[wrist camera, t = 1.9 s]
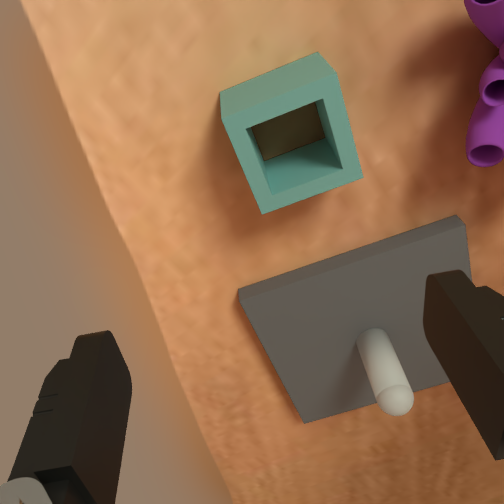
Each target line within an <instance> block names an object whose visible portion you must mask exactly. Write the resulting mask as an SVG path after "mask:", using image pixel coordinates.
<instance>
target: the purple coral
mask: <svg viewBox="0 0 504 504" xmlns="http://www.w3.org/2000/svg"><path fill="white" fill-rule="evenodd" d="M464 4H465V7H466V9H467V12H468V14H469V16H470V18H471V20H472V21H473V23H474V24H475V25H476V27H477V28H478V29H479V30H480V31H481V32H482V33H483V34H484V35H485V36H486V37H487V38H488V39H489V40H490V41H491V42H492V43H493V44H494V45H495V46H496V47H498V48H499V49H500V50H499V55H498V56H497V57H496V58H495V59H494V60H492V61H491V63H490V64H489V65H488V66H487V68H486V69H485V71H484V72H483V74H482V76H481V79H480V83H479V93H480V98H479V100H478V102H477V103H476V106H475V108H474V111H473V113H472V116H471V118H470V121H469V125H468V130H467V136H466V154H467V158H468V160H469V161H470V162H471V164H473V165H475V166H479V167H489V166H493V165H496V164H498V163H499V162H501V160H502V159H503V158H504V0H464Z"/></svg>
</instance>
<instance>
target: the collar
mask: <svg viewBox="0 0 504 504" xmlns="http://www.w3.org/2000/svg"><path fill="white" fill-rule="evenodd" d="M312 102H315V104H316V107H317V111H318V114H319V118H320V121H321V124H322V128H323V131H324V135H325V138H324V139H321V140H318V141H316V142H313V143H310V144H308V145H305V146H303V147H300V148H297V149H295V150H292V151H290V152H287V153H284V154H282V155H279V156H276V157H274V158H271V159H269V160H266V161H264V160H263V157H262V155H261V152H260V150H259V147H258V145H257V142H256V139H255V137H254V134H253V132H252V129H251V127H252V126H254V125H257V124H259V123H262V122H264V121H267V120H269V119H272V118H274V117H277V116H279V115H282V114H284V113H287V112H289V111H292V110H295V109H297V108H300V107H302V106H305V105H307V104H310V103H312ZM220 106H221V119H222V122H223V124H224V126H225V129H226V131H227V134H228V136H229V138H230V141H231V143H232V145H233V148H234V150H235V152H236V155H237V157H238V159H239V162H240V164H241V166H242V169H243V171H244V173H245V176H246V178H247V180H248V183H249V185H250V188H251V190H252V192H253V195H254V197H255V199H256V202H257V204H258V206H259V209H260V211H261V213H262V214H265V213H268V212H271V211H273V210H276V209H279V208H282V207H284V206H287V205H290V204H293V203H295V202H298V201H301V200H304V199H306V198H309V197H312V196H315V195H317V194H320V193H323V192H326V191H328V190H331V189H334V188H337V187H339V186H342V185H345V184H348V183H350V182H353V181H356V180H359V179H361V178H363V174H362V170H361V166H360V162H359V158H358V154H357V151H356V147H355V143H354V139H353V135H352V131H351V127H350V123H349V119H348V115H347V111H346V108H345V104H344V100H343V96H342V92H341V88H340V84H339V80H338V76H337V73H336V71H335V70H334V69H333V68H332V67H331V66H330V65H329V64H328V63H327V61H326V60H325V59H324V58H323V57H322V56H321V55H320V54H319V53H318V52H316V53H314V54H311V55H309V56H306V57H304V58H301V59H299V60H297V61H294V62H292V63H289V64H287V65H284V66H282V67H280V68H277V69H275V70H272V71H270V72H267V73H265V74H263V75H260V76H258V77H255V78H253V79H250V80H248V81H246V82H243V83H241V84H238V85H236V86H233V87H231V88H229V89H226V90H224V91H221V92H220Z"/></svg>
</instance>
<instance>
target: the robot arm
mask: <svg viewBox="0 0 504 504" xmlns="http://www.w3.org/2000/svg"><path fill="white" fill-rule="evenodd" d="M423 328H424V332H425V336H426V339H427V341H428V343H429V345H430V347H431V349H432V350H433V352H434V354H435V356H436V357H437V359H438V361H439V363H440V364H441V366H442V368H443V370H444V371H445V373H446V375H447V377H448V378H449V380H450V382H451V384H452V385H453V387H454V389H455V391H456V392H457V394H458V396H459V398H460V399H461V401H462V403H463V405H464V406H465V408H466V410H467V412H468V413H469V415H470V417H471V419H472V420H473V422H474V424H475V426H476V427H477V429H478V431H479V433H480V434H481V436H482V438H483V440H484V441H485V443H486V445H487V447H488V448H489V450H490V452H491V454H492V455H493V457H494V459H495V460H501V459H504V296H502V295H501V294H499V293H497V292H496V291H494V290H492V289H491V288H489V287H487V286H482V287H477V288H476V287H475V285H474V284H473V283H472V282H471V280H470V279H469V278H468V277H467V275H466V274H465V273H464V272H463V271H462V270H459V269H458V270H452V271H446V272H441V273H435V274H430V275H428V276H427V279H426V286H425V298H424V310H423ZM131 396H132V383H131V376H130V372H129V370H128V367H127V365H126V363H125V361H124V358H123V356H122V354H121V352H120V350H119V347H118V345H117V343H116V341H115V338H114V336H113V334H112V333H111V332H110V331H108V330H107V331H102V332H96V333H90V334H85V335H80V336H78V337H77V338H76V340H75V343H74V346H73V349H72V352H71V355H70V358H69V359H63V360H59V361H58V362H57V364H56V365H55V366H54V368H53V369H52V370H51V371H50V373H49V374H48V375H47V376H46V378H45V380H44V383H43V385H42V388H41V391H40V394H39V396H38V398H39V400H38V401H37V402H36V405H35V407H34V410H33V417H31V419H30V421H29V424H28V427H27V430H26V432H25V435H24V438H23V441H22V443H21V447H20V449H19V452H18V455H17V457H16V460H15V463H14V466H13V468H12V471H11V474H10V476H9V479H8V481H7V483H4V484H3V485H1V486H0V504H115V498H116V493H117V486H118V480H119V473H120V467H121V461H122V453H123V448H124V441H125V435H126V428H127V422H128V415H129V409H130V403H131Z"/></svg>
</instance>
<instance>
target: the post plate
mask: <svg viewBox="0 0 504 504" xmlns="http://www.w3.org/2000/svg"><path fill="white" fill-rule="evenodd" d="M458 269H459V270H462V271H463V272H464V273H465V274H466V275H467V277H468V278H469V279H470V280H471V282H472V278H471V269H470V261H469V252H468V243H467V235H466V226H465V224H464V223H463V222H462V220H461V219H460V218H459V217H458V216H457V215H454V216H451V217H448V218H445V219H442V220H439V221H436V222H433V223H431V224H428V225H425V226H422V227H419V228H416V229H413V230H410V231H407V232H404V233H401V234H398V235H395V236H392V237H390V238H387V239H384V240H381V241H378V242H375V243H372V244H369V245H366V246H363V247H360V248H357V249H354V250H351V251H349V252H346V253H343V254H340V255H337V256H334V257H331V258H328V259H325V260H322V261H319V262H316V263H313V264H310V265H308V266H305V267H302V268H299V269H296V270H293V271H290V272H287V273H284V274H281V275H278V276H275V277H272V278H269V279H267V280H264V281H261V282H258V283H255V284H252V285H249V286H246V287H243V288H240V289H238V293H239V302H240V304H241V306H242V308H243V309H244V311H245V313H246V315H247V317H248V319H249V321H250V323H251V325H252V326H253V328H254V330H255V332H256V334H257V336H258V338H259V340H260V341H261V343H262V345H263V347H264V349H265V351H266V353H267V355H268V356H269V358H270V360H271V362H272V364H273V366H274V368H275V370H276V372H277V373H278V375H279V377H280V379H281V381H282V383H283V385H284V387H285V388H286V390H287V392H288V394H289V396H290V398H291V400H292V402H293V404H294V405H295V407H296V409H297V411H298V413H299V415H300V417H301V419H302V420H303V422H304V424H305V423H309V422H312V421H316V420H319V419H323V418H326V417H329V416H333V415H336V414H340V413H343V412H347V411H350V410H354V409H357V408H361V407H364V406H368V405H371V404H374V403H378V405H379V407H380V408H381V409H382V410H383V411H384V412H385V413H387V414H389V415H392V416H401V415H404V414H406V413H407V412H408V411H409V410H410V409H411V408H412V406H413V403H414V395H413V392H416V391H419V390H423V389H426V388H430V387H433V386H437V385H440V384H444V383H447V382H450V380H449V378H448V377H447V375H446V373H445V371H444V370H443V368H442V366H441V364H440V363H439V361H438V359H437V357H436V356H435V354H434V352H433V350H432V349H431V347H430V345H429V343H428V341H427V339H426V336H425V332H424V328H423V310H424V298H425V286H426V279H427V276H428V275H430V274H435V273H441V272H446V271H452V270H458Z"/></svg>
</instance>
